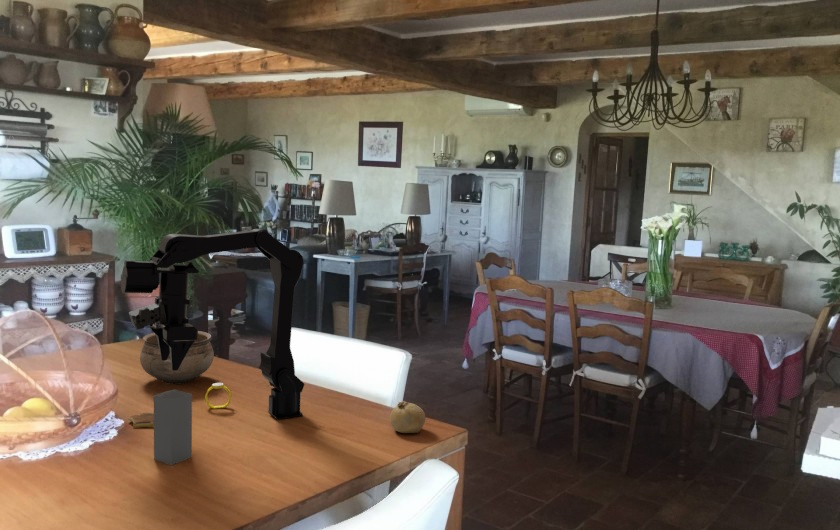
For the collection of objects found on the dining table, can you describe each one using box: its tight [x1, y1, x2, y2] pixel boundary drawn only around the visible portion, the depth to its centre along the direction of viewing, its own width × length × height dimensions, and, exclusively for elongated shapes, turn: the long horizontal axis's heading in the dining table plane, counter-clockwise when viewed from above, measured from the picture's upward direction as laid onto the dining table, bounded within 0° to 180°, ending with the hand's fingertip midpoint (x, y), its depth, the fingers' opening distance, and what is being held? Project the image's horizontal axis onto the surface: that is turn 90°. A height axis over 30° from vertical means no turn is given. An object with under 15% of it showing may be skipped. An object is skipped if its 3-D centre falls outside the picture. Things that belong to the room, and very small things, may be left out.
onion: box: [389, 400, 427, 435], centre depth 160 cm, size 8×8×7 cm
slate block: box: [153, 388, 193, 466], centre depth 139 cm, size 5×5×13 cm
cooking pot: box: [139, 330, 215, 385], centre depth 191 cm, size 25×19×12 cm
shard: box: [127, 412, 154, 429], centre depth 158 cm, size 11×8×2 cm
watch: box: [204, 382, 232, 410], centre depth 171 cm, size 6×3×6 cm, turn 101°
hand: (169, 365), depth 152 cm, fingers open, 9 cm apart
